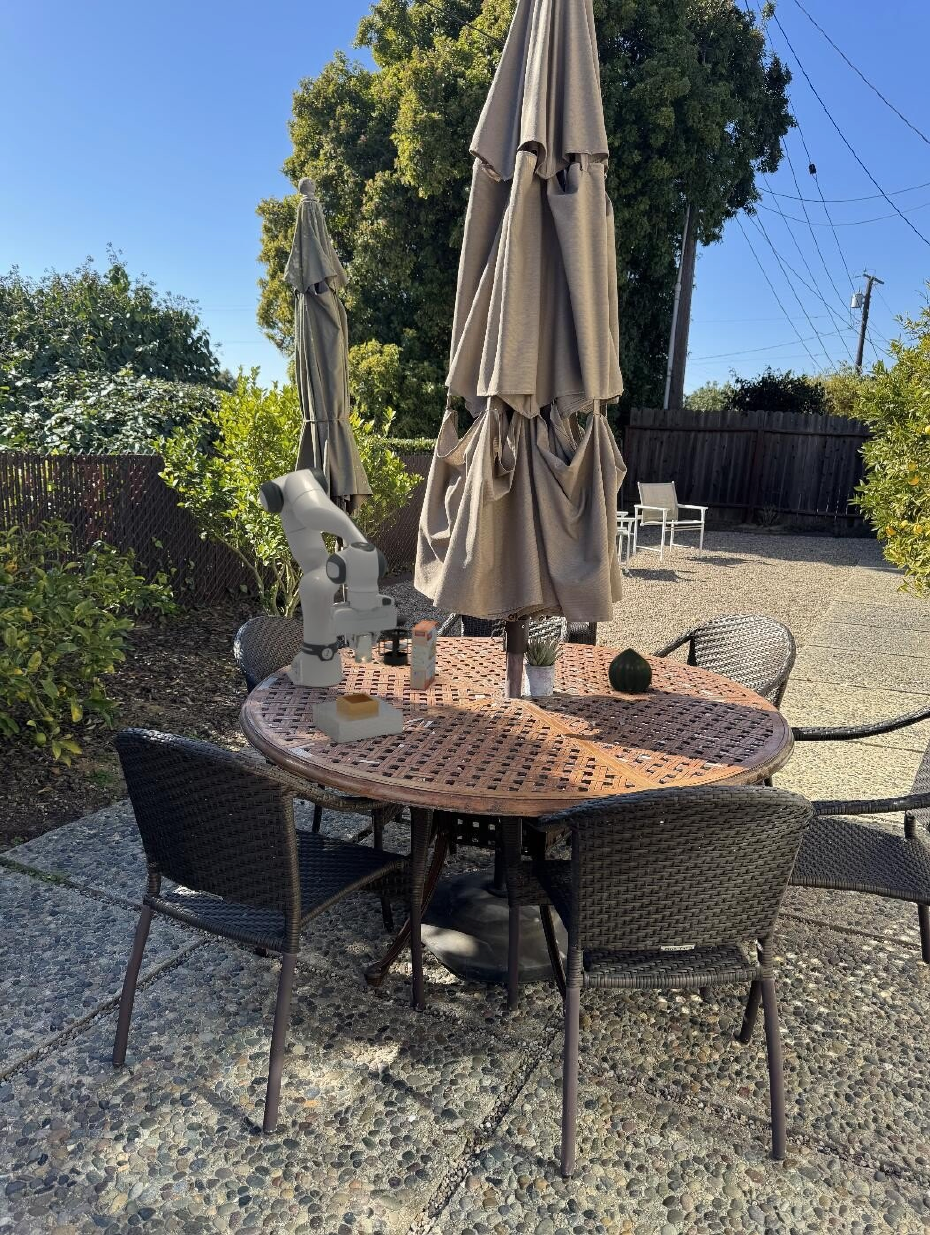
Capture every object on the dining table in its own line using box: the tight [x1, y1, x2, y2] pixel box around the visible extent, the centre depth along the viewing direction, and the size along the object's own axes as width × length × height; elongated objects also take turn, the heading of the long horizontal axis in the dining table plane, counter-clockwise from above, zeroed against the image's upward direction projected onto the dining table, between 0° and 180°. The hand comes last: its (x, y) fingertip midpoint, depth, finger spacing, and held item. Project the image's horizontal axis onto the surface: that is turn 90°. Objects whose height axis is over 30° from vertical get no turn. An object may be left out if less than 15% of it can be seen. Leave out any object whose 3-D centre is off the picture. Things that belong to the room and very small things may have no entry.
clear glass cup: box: [353, 632, 373, 664], centre depth 249 cm, size 5×5×8 cm
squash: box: [607, 647, 653, 694], centre depth 298 cm, size 14×15×15 cm
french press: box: [377, 600, 409, 667], centre depth 318 cm, size 12×9×23 cm
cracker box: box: [409, 620, 438, 691], centre depth 293 cm, size 14×6×21 cm, turn 168°
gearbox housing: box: [312, 691, 404, 744], centre depth 250 cm, size 18×20×9 cm
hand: (363, 647), depth 249 cm, fingers closed on clear glass cup, 5 cm apart
